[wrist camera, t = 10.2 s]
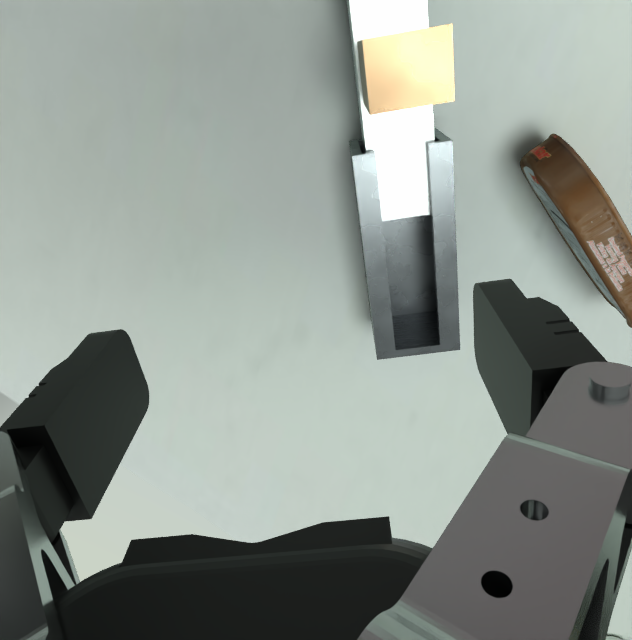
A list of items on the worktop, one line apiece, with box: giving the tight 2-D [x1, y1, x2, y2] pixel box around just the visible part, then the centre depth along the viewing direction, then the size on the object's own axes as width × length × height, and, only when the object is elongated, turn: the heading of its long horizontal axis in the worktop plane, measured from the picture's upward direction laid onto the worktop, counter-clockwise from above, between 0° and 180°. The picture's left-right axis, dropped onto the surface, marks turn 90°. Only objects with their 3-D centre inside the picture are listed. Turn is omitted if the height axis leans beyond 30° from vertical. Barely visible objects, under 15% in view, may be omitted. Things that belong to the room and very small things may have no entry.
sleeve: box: [349, 127, 460, 360], centre depth 37 cm, size 6×15×6 cm, turn 9°
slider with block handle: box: [347, 0, 455, 221], centre depth 29 cm, size 4×18×11 cm, turn 9°
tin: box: [520, 134, 632, 328], centre depth 35 cm, size 15×3×8 cm, turn 40°
